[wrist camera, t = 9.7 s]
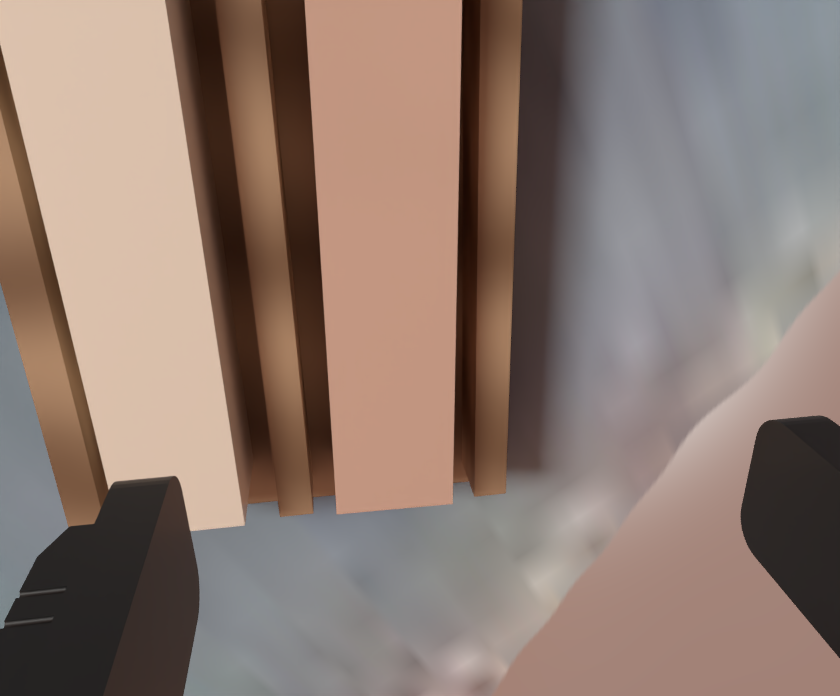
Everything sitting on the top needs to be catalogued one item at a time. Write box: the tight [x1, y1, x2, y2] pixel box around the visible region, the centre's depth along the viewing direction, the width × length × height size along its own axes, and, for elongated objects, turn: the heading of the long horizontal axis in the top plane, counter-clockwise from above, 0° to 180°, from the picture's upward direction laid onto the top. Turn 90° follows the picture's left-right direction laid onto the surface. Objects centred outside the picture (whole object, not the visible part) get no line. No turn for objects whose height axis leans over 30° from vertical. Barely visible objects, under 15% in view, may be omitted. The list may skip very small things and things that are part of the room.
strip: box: [0, 0, 253, 531], centre depth 22 cm, size 18×4×4 cm, turn 1°
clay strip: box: [305, 0, 462, 514], centre depth 22 cm, size 18×4×4 cm, turn 0°
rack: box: [0, 0, 523, 527], centre depth 23 cm, size 22×16×4 cm
